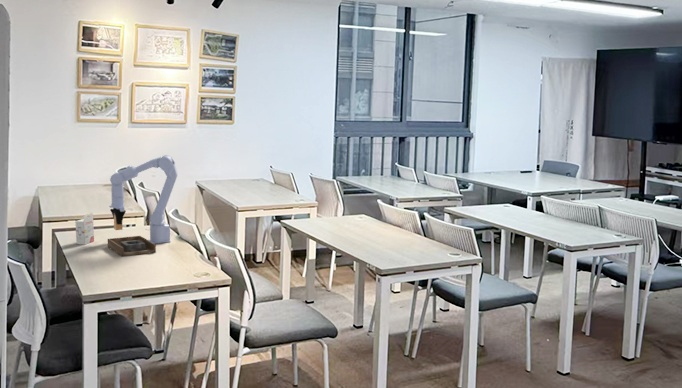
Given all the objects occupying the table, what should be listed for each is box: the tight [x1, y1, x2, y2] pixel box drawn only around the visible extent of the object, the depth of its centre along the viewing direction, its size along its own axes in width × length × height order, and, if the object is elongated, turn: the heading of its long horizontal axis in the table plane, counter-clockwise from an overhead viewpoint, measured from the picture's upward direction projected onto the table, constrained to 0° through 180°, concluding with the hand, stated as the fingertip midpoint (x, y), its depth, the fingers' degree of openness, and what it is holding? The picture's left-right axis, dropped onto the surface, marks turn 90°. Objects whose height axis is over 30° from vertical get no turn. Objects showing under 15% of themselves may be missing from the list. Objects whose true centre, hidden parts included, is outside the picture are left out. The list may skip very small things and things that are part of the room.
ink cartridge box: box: [75, 212, 95, 246], centre depth 341 cm, size 9×5×15 cm, turn 168°
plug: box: [113, 213, 123, 231], centre depth 345 cm, size 4×4×8 cm
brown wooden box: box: [107, 235, 157, 257], centre depth 330 cm, size 16×22×4 cm
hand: (118, 223), depth 345 cm, fingers closed on plug, 3 cm apart
